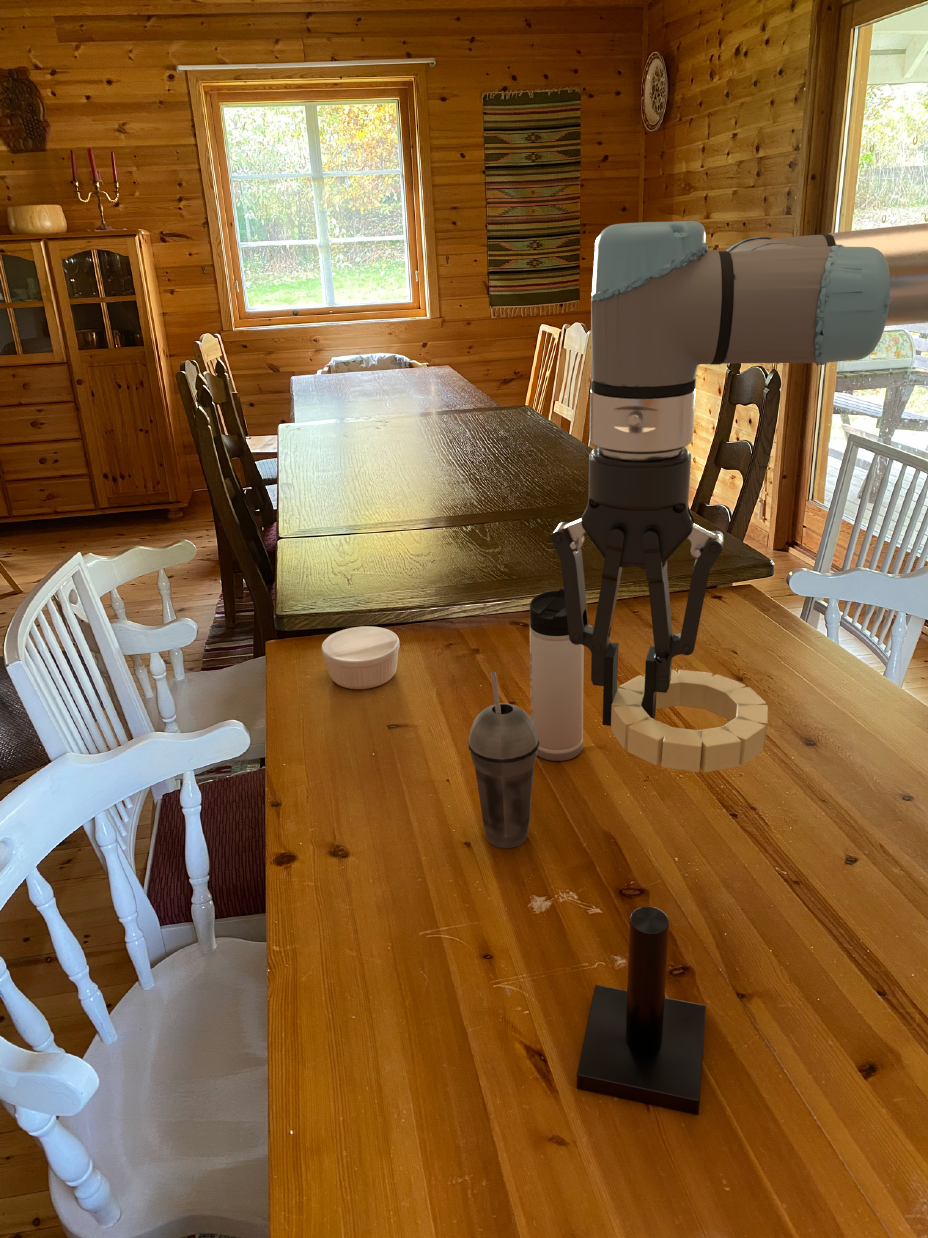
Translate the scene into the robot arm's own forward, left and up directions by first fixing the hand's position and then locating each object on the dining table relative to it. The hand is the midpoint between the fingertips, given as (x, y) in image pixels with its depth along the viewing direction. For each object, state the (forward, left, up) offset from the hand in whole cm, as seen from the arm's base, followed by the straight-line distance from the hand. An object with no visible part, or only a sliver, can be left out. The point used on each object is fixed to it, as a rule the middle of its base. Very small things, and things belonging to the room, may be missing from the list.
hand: (629, 719), depth 78 cm
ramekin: (+42, -40, -21) cm, 62 cm away
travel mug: (+11, -27, -21) cm, 36 cm away
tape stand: (-4, +15, -21) cm, 26 cm away
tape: (-5, 0, 0) cm, 5 cm away
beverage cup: (+13, -9, -21) cm, 26 cm away
